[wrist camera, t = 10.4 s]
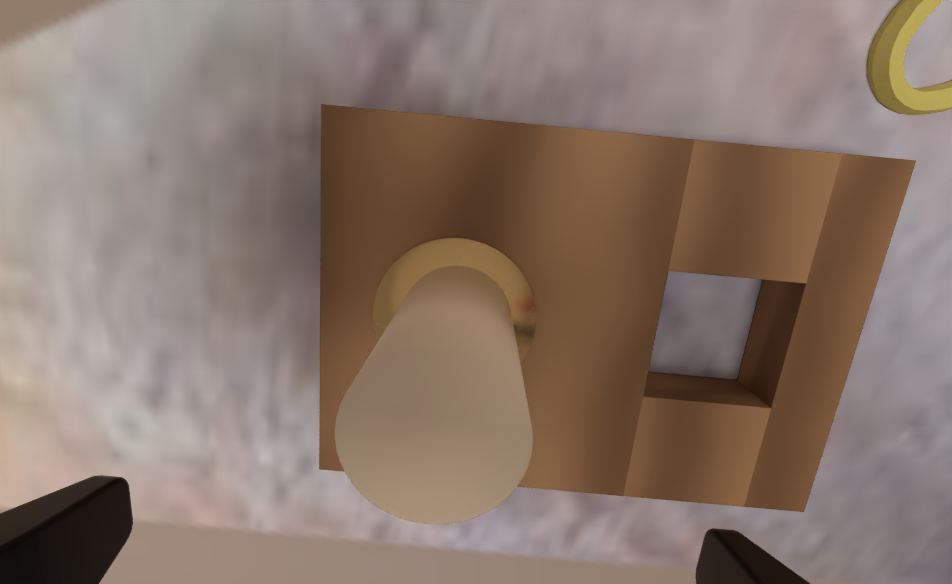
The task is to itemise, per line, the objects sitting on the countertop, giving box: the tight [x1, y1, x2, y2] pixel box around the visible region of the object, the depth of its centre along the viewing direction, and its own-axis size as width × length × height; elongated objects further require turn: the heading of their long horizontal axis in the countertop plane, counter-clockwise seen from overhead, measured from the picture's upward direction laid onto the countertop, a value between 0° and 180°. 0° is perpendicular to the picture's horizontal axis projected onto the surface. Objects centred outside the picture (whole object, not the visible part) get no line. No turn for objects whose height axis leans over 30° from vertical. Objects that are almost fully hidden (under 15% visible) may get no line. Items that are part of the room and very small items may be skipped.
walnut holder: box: [319, 104, 916, 512], centre depth 19 cm, size 20×14×2 cm
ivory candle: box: [335, 265, 533, 524], centre depth 13 cm, size 4×4×8 cm
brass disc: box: [373, 237, 536, 363], centre depth 17 cm, size 6×6×1 cm
